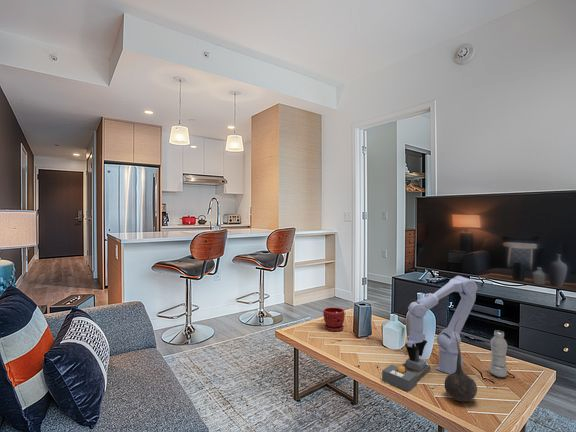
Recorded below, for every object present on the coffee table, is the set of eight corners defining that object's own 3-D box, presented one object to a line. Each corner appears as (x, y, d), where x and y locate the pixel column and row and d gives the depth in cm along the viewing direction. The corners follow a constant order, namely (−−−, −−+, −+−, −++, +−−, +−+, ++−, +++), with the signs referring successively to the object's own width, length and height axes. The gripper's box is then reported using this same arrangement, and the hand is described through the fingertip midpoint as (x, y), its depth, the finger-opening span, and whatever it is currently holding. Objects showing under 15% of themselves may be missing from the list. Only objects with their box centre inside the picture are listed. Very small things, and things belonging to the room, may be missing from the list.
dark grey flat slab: (430, 370, 151) (430, 365, 151) (415, 383, 140) (415, 377, 140) (409, 363, 158) (409, 358, 158) (393, 374, 147) (393, 369, 147)
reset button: (406, 375, 141) (406, 367, 141) (402, 378, 139) (403, 369, 139) (399, 373, 143) (399, 364, 143) (396, 375, 141) (396, 366, 141)
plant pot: (346, 326, 207) (346, 308, 207) (341, 334, 195) (341, 314, 195) (326, 323, 212) (327, 305, 212) (320, 330, 200) (320, 311, 200)
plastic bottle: (501, 380, 143) (502, 335, 142) (486, 373, 149) (487, 330, 148) (510, 377, 146) (511, 333, 145) (494, 370, 152) (495, 328, 151)
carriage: (426, 367, 151) (426, 350, 151) (420, 372, 147) (420, 354, 147) (411, 362, 156) (411, 345, 156) (405, 366, 152) (405, 349, 152)
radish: (477, 393, 133) (478, 320, 132) (476, 410, 121) (478, 330, 120) (446, 385, 139) (447, 315, 138) (442, 401, 127) (444, 324, 126)
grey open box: (417, 384, 139) (417, 373, 139) (408, 391, 133) (408, 379, 133) (391, 374, 147) (391, 363, 147) (382, 380, 142) (382, 369, 142)
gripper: (414, 322, 159) (414, 350, 159) (400, 330, 149) (400, 359, 149) (429, 326, 154) (428, 355, 154) (416, 334, 144) (415, 365, 144)
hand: (415, 357), depth 151 cm, fingers open, 7 cm apart
